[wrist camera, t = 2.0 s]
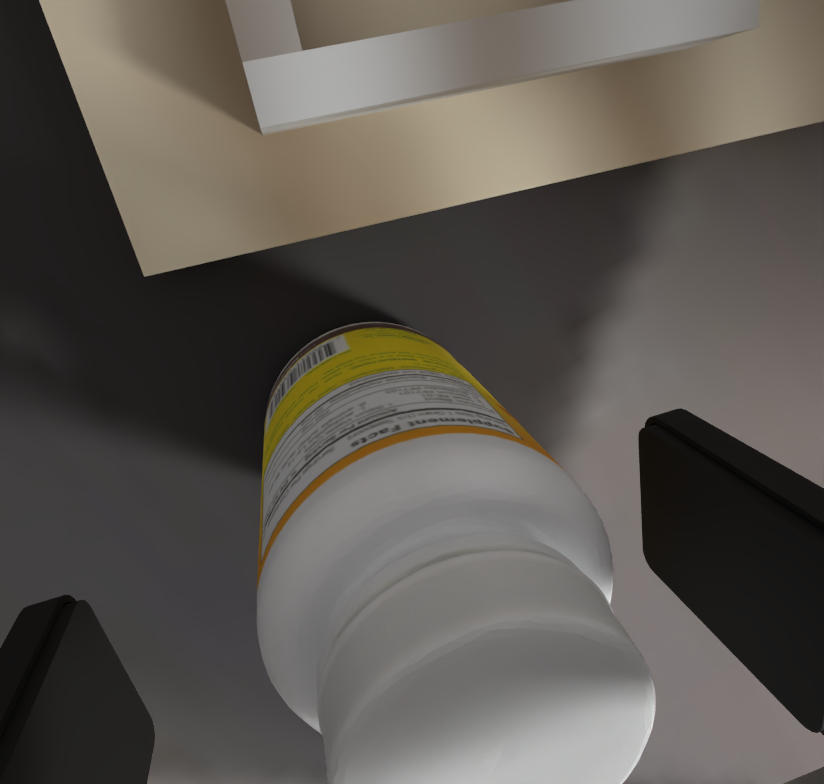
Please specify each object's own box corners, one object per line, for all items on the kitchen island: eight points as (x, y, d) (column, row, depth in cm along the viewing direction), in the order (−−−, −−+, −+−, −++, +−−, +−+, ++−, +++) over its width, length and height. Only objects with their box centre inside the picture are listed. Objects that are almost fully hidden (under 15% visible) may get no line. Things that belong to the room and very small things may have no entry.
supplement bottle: (450, 502, 17) (649, 883, 8) (260, 501, 16) (237, 959, 7) (482, 322, 16) (786, 547, 6) (270, 304, 14) (260, 559, 5)
